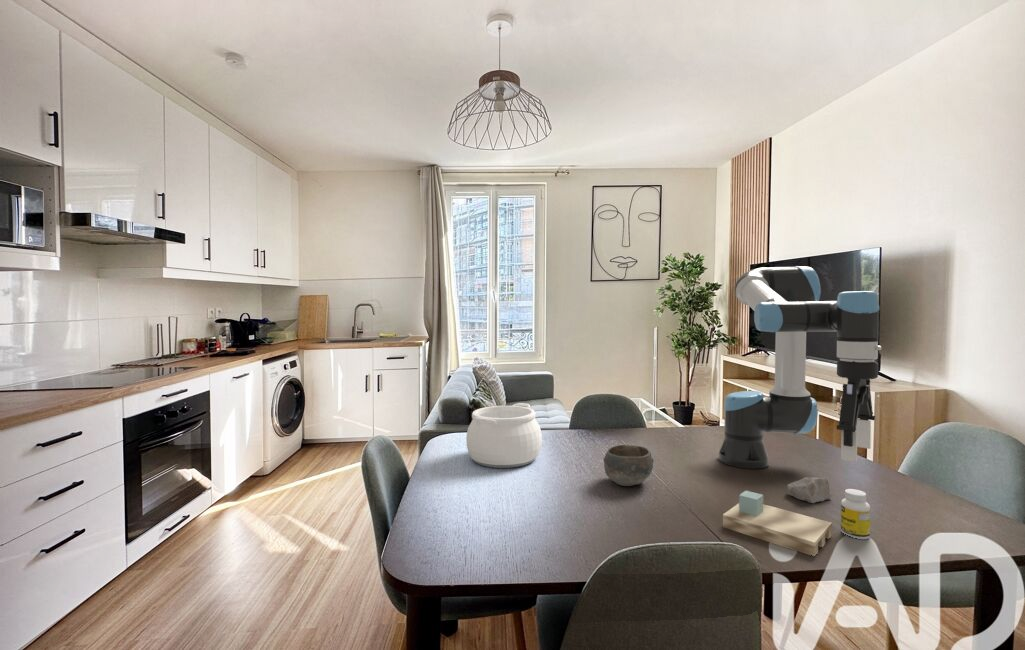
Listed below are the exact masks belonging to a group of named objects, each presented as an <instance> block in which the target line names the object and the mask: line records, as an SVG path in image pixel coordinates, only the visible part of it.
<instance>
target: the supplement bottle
mask: <svg viewBox="0 0 1025 650" xmlns="http://www.w3.org/2000/svg"><path fill="white" fill-rule="evenodd" d="M840 532H842V534H843V533H844V534H843V535H845V534H846V535H845V536H847V535H848V536H847V537H849V536H851V537H850V538H852V537H853V538H852V539H855V538H857V540H867V539H870V538H871V505H870V504H869V503H868V502H867V493H866V492H865V491H863V490H859V489H854V488H846V489H845V490H844V498H842V500H841V504H840Z"/></svg>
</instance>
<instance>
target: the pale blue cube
mask: <svg viewBox="0 0 1025 650" xmlns="http://www.w3.org/2000/svg"><path fill="white" fill-rule="evenodd" d="M738 497H739V498H738V501H739V502H738V503H739V512H743V513H746V514H750V515H753V516H758V515H759V514H761V513H762V512H763V504H764V494H762V493H758V492H754V491H753V492H752V491H750V490H744V491H743V492H742V493H740V494H739V495H738Z"/></svg>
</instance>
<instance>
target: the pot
mask: <svg viewBox="0 0 1025 650" xmlns="http://www.w3.org/2000/svg"><path fill="white" fill-rule="evenodd" d="M536 414H537V413H536V411H535V410H534V409H533V408H531V404H529V403H526V402H517V403H514V404H512V405H493V406H486V407H481V408H477V409H475V410H473V411H472V414H471V419H472V420H471V422H470V424H469V426H468V428H467V432H466V448H467V452H468V454H469V456H470V458H471V459H472V460H473V462H474V463H476V464H478V465H480V466H483V467H486V468H492V467H493V469H511V468H519V467H523V466H526V465H529V464H531V463H532V462H534V461H535V460H536V459H537V458H538V456H540V455H539V454H540V453H541V450H542V445H543V444H542V443H543V441H542V439H543V436H542V430H541V427H540V424H539V422H538V420H536V419H537V418H536V416H537V415H536Z"/></svg>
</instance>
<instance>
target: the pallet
mask: <svg viewBox="0 0 1025 650" xmlns="http://www.w3.org/2000/svg"><path fill="white" fill-rule="evenodd" d="M722 528H724V529H728V530H730V531H733V532H736V533H741V534H743V535H746V536H749V537H753V538H755V539H758V540H762V541H765V542H768V543H771V544H774V545H777V546H781V547H784V548H787V549H790V550H792V549H793V551H795V550H796V552H798V551H799V553H802V554H805V555H808V556H811V555H812V556H811V557H814V556H815V555H816V554H817V555H818V553H819V548H821V547H822V548H824V546H825V545H826V540H830V539H829V538H831V537H832V536H833V534H832V533H833V523H832V522H831V521H826V520H823V519H819V518H816V517H812V516H808V515H805V514H801V513H797V512H794V511H790V510H786V509H783V508H778V507H776V506H771V505H767V504H764V503H763V512H762V513H761V514H759V515H758V516H753V515H750V514H746V513H743V512H739V502H738V503H737V504H736V505H734V506H732V508H730V509H729V510H727V511H726V512H724V513H722ZM826 538H827V539H826ZM818 546H819V547H818ZM817 555H816V556H817ZM816 556H815V557H816Z"/></svg>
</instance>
